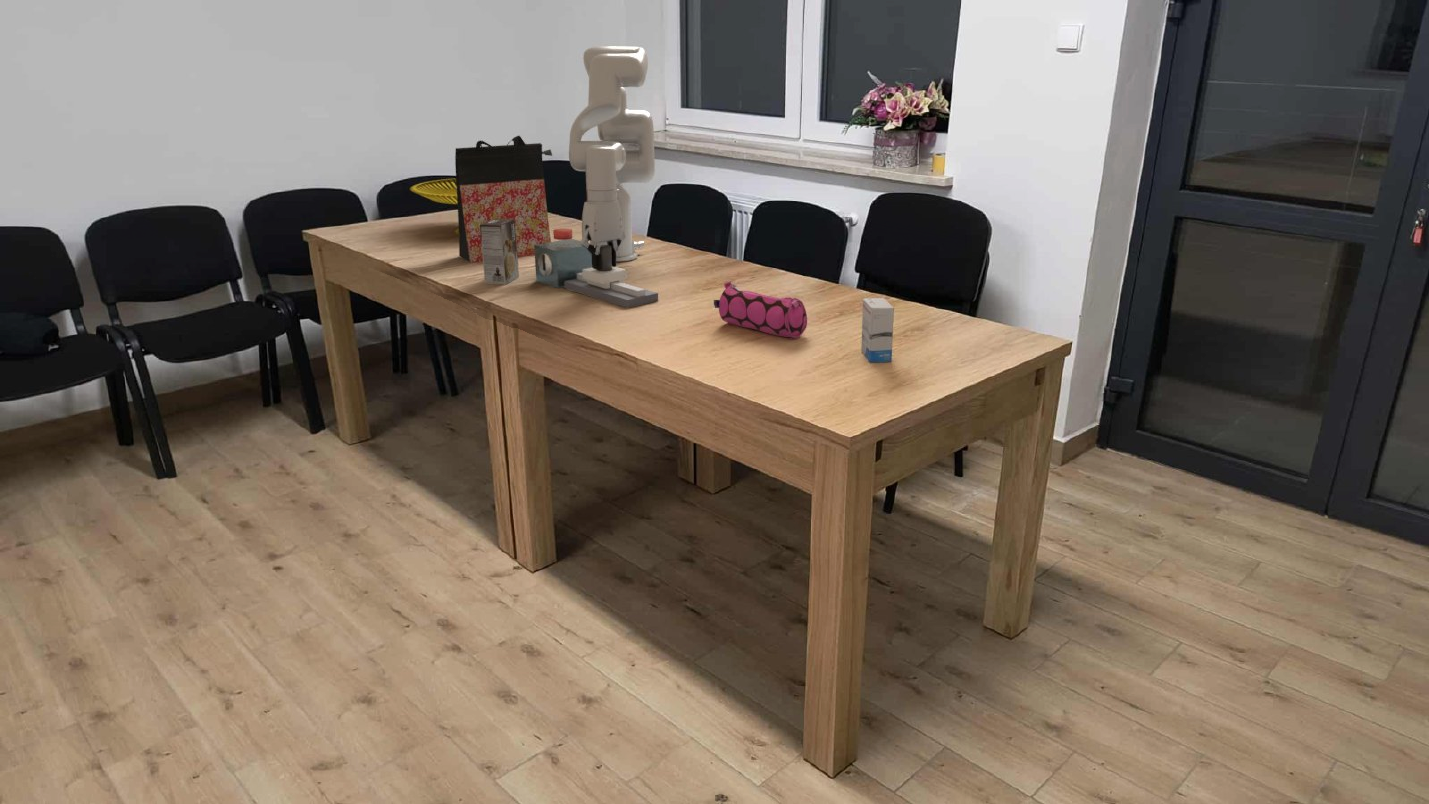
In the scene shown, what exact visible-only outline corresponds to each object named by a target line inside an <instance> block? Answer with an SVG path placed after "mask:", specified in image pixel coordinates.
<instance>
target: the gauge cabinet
mask: <svg viewBox="0 0 1429 804" xmlns="http://www.w3.org/2000/svg"><path fill="white" fill-rule="evenodd" d="M580 242H581V240H577V239H573V238H572V239H567V240H553V241H551V242H548V243H542V244H536V245H534V252H535V255H534V265H535V266H534V267H535V280H536V282H537V283H540V284H543V285H547V286H551V287H553V288H557V289H561V288H565V285H564V281H567V280H572V279H577V273H582V272H583V269H587V268H592V254H591V253H589V251H588V250H587V249H586V248H585V247H584V246H582V245H581V244H580ZM588 243H589V244H590V242H588Z"/></svg>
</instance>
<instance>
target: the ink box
mask: <svg viewBox="0 0 1429 804" xmlns="http://www.w3.org/2000/svg"><path fill="white" fill-rule="evenodd" d="M894 315H895V307H894V306H892V304H890V303H889V302H888V300H887V299H886V298H884V297H883V298H882V297H881V298H879V297H877V298H875V297H871V298H870V297H869V298H868V297H865V298H863V299H862V316H861V317H862V320H861V321H862V322H861V323H862V324H861V347H860V349H861V352H862V353H863V355H864V356H865V358H866V359H867V360H868V362H869V363H870V362H871V363H888V362H892V359H893V337H894V336H893V335H894V322H895V321H894V320H895V316H894Z"/></svg>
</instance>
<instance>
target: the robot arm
mask: <svg viewBox="0 0 1429 804" xmlns="http://www.w3.org/2000/svg"><path fill="white" fill-rule="evenodd" d="M648 61H649V60H648V56H647V52H646V51H645V49H644V48H643V47H641V46H618V45H617V46H615V45H613V46H611V45H610V46H607V45H606V46H605V45H604V46H592V47H589V48H587V49H586V50H585V51H584V52H583V64H584V68H585V71H586V74H587V76H588V97H587V98H588V99H587V102H588V104H587V106H586V107H584V109H582V111H581V112H580V113H579V114H578V115H577V116H576V118H575V119H574V121H573V123H572V125H571V128H570V132H569V143H568V144H569V146H568V159H569V163H570V166H571V168H573V170H575V171H578V172H585V184H586V187H585V188H586V201H584V202H583V203H584V204H583V209H582V215H581V237H582V238H581V239H580V241H581V242H580V244H581V245H582V246H584V247H585V248H586V249H587V250H588V251H589V253H591V254H592V268H593V269H597V270H601V269H602V257H601V254H599V252H600V245H610V246H611V247H612V267H617V262H627V261H632V260H633V261H634V260H636V259H637V258H638V252H636V250H637V249H640V248H644V247H645V242H644V241H642V240H640V241H635V240H633V238H632V237H633V236H632V235H633V234H632V233H633V231H632V230H633V229H632V200H631V196H630V194H629V192H628V190H626V188H625V187H624V186H623V184H635V183H636V184H639V183H640V184H646V183H649V182H651V181H653V180H654V176H655V172H656V169H655V165H656V164H655V162H656V161H655V130H654V121H653V117H652V116H651V113H650V112H649V111H648V110H644V109H628V107H627V91H626V89H625V88H641V87H642V86H643V85H644V84H645V81H646V76H647V73H648V64H649V62H648ZM595 127H597V134H598V139H599V140H582V138H583V136H584V135H585V134H586V133H587V132H588V131H590V130H591V129H593V128H595ZM623 145H636V146H637V147H638V148H633V149H632V148H625V147H624V146H623ZM589 241H590V242H589ZM589 243H590V244H589Z"/></svg>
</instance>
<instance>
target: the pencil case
mask: <svg viewBox="0 0 1429 804" xmlns="http://www.w3.org/2000/svg"><path fill="white" fill-rule="evenodd" d="M723 285H724V288H725V289H724V290H723V292H722V293H721V295H720V297H719V299H713V306H714V308H715V309H718V313H719V317H720V318H721V320H722V321H723V322H725V323H728V324H729V325H732V324H735V325H734V326H739V327H742V326H743V328H746V329H753V330H756V331H759V332H762V333H766V334H769V335H774V336H777V335H778V336H779V337H782V338H783V337H785V338H791V339H798V338H800V337H801V336H802V335H803V334H804V332H805V331H806V329H807V326H808V315H807V311H806V308H805V305H804V303H803V301H801V300H800V299H798V298H796V297H790V296H787V297H781V298H780V297H776V296H772V295H771V296H770V295H766V294H762V293H758V292H755V291H754V292H753V291H750V290H742V289H741V288H740V287H738V286H737V285H736V284H734V283H732V281H731V280H729V281H726V282H725V283H723Z"/></svg>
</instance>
